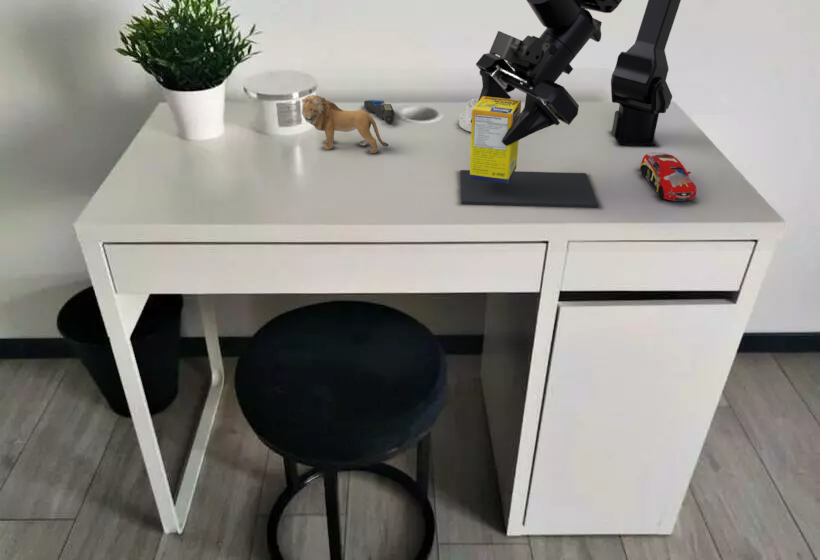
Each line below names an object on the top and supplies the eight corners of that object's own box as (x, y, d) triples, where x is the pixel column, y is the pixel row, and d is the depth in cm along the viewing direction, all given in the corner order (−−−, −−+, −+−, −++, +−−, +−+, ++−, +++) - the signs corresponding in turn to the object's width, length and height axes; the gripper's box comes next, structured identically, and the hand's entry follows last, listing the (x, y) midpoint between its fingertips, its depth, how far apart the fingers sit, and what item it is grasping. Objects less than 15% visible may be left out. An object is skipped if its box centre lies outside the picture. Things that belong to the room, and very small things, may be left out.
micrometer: (363, 97, 139) (388, 96, 140) (363, 106, 140) (388, 105, 141) (370, 117, 129) (397, 116, 130) (370, 127, 130) (397, 126, 131)
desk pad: (585, 175, 113) (586, 173, 113) (597, 207, 104) (598, 204, 104) (460, 172, 114) (460, 169, 114) (461, 204, 105) (461, 201, 105)
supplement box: (516, 168, 109) (522, 99, 102) (508, 185, 104) (513, 113, 98) (478, 163, 110) (482, 94, 104) (468, 179, 105) (471, 108, 99)
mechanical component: (459, 135, 127) (515, 136, 127) (461, 111, 125) (517, 112, 125) (457, 115, 136) (510, 116, 135) (458, 93, 133) (512, 93, 133)
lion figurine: (301, 151, 121) (297, 100, 116) (307, 140, 125) (303, 89, 120) (387, 154, 120) (386, 103, 115) (390, 142, 124) (389, 92, 119)
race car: (699, 205, 105) (705, 181, 103) (662, 206, 105) (668, 181, 103) (668, 168, 116) (674, 145, 114) (636, 168, 116) (640, 145, 114)
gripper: (490, -5, 102) (422, 82, 104) (571, 24, 89) (492, 124, 91) (530, 44, 110) (466, 124, 112) (611, 77, 96) (536, 168, 98)
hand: (487, 133), depth 103 cm, fingers closed on supplement box, 8 cm apart
